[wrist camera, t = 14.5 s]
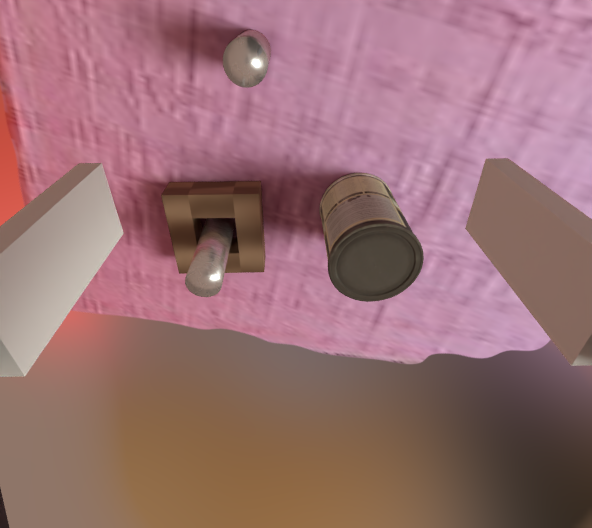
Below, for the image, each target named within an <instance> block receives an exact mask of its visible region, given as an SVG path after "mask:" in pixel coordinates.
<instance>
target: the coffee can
mask: <svg viewBox="0 0 592 528" xmlns="http://www.w3.org/2000/svg"><path fill="white" fill-rule="evenodd" d="M320 216H321V220H322V226H323V232H324V239H325V244H326V251H327V257H328V272H329V277H330V279H331V281H332V283H333V285H334V286H335V288H336V289H337V290H338V291H339V292H341V293H342V294H344V295H345V296H347V297H349V298H352V299H355V300H359V301H367V302H368V301H370V302H371V301H380V300H384V299H388V298H391V297H393V296H395V295H398V294H399V293H401V292H403V291H404V290H405V289H407V288H408V287H409V286H410V285H411V284H412V283H413V282H414V281H415V279H416V278H417V276H418V275H419V273H420V271H421V268H422V265H423V250H422V247H421V244H420V242H419V240H418V239H417V237H416V236H415V235H414V234H413V232H412V230H411V228H410V226H409V225H408V223H407V221H406V219H405V217H404V216H403V214H402V212H401V210H400V208H399V206H398V205H397V203H396V201H395V199H394V197H393V195H392V193H391V191H390V189H389V187H388V186H387V185H386V183H385V182H384V181H382V180H381V179H380V178H378V177H376V176H374V175H371V174H367V173H353V174H349V175H346V176H343V177H341V178H339V179H338V180H336V181H335V182H334V183H332V184H331V185H330V186H329V188H328V189H327V190H326V191H325V193H324V195H323V197H322V199H321V202H320Z"/></svg>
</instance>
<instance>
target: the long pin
mask: <svg viewBox="0 0 592 528" xmlns="http://www.w3.org/2000/svg"><path fill="white" fill-rule="evenodd" d="M234 228H235V218H207V219H206V222H205V225H204V227H203V230H202V233H201V236H200V239H199V242H198V244H197V247H196V250H195V253H194V256H193V258H192V261H191V264H190V267H189V270H188V273H187V275H186V278H185V284H186V287H187V288H188V290H189V291H190V292H192V293H193V294H195V295H197V296H201V297H210V296H214V295H216V294H217V293H218V292H219V291H220V289H221V287H222V282H223V278H224V273H225V269H226V264H227V259H228V255H229V250H230V246H231V241H232V237H233V232H234Z"/></svg>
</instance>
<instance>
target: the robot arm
mask: <svg viewBox="0 0 592 528" xmlns="http://www.w3.org/2000/svg"><path fill="white" fill-rule="evenodd" d="M465 229H466V230H467V231H468V232H469V234H470V235H471V236H472V238H473V239H474V240H475V242H476V243H477V244H478V245H479V247H480V248H481V249H482V251H483V252H484V253H485V254H486V256H487V257H488V258H489V260H490V261H491V262H492V264H493V265H494V266H495V267H496V269H497V270H498V271H499V273H500V274H501V275H502V276H503V278H504V279H505V280H506V282H507V283H508V284H509V286H510V287H511V288H512V289H513V291H514V292H515V293H516V295H517V296H518V297H519V298H520V300H521V301H522V302H523V304H524V305H525V306H526V307H527V309H528V310H529V311H530V313H531V314H532V315H533V317H534V318H535V319H536V320H537V322H538V323H539V324H540V326H541V327H542V328H543V329H544V331H545V332H546V333H547V335H548V336H549V337H550V339H551V340H552V341H553V342H554V344H555V345H556V346H557V348H558V349H559V350H560V351H561V353H562V354H563V355H564V357H565V358H566V359H567V360H568V362H569V363H570V364H571V366H579V365H592V219H590V218H589V217H588V216H586V215H585V214H584V213H582V212H581V211H579V210H578V209H577V208H575V207H574V206H573V205H571V204H570V203H568V202H567V201H566V200H564V199H563V198H562V197H560V196H559V195H557V194H556V193H555V192H553V191H552V190H551V189H549V188H548V187H547V186H545V185H544V184H542V183H541V182H540V181H538V180H537V179H536V178H534V177H533V176H531V175H530V174H529V173H527V172H526V171H525V170H523V169H522V168H520V167H519V166H518V165H516V164H515V163H514V162H512V161H511V160H509V159H508V158H504V159H486V160H485V164H484V167H483V170H482V174H481V177H480V181H479V184H478V187H477V191H476V194H475V198H474V201H473V204H472V208H471V211H470V215H469V218H468V221H467V225H466V228H465ZM122 235H123V230H122V227H121V224H120V220H119V217H118V214H117V211H116V208H115V204H114V201H113V198H112V195H111V192H110V188H109V185H108V182H107V179H106V176H105V172H104V169H103V166H102V163H79V164H78V165H76V166H75V167H74V168H73V169H71V170H70V171H69V172H68V173H66V174H65V175H64V176H63V177H61V178H60V179H59V180H58V181H56V182H55V183H54V184H53V185H51V186H50V187H49V188H48V189H46V190H45V191H44V192H43V193H41V194H40V195H39V196H38V197H36V198H35V199H34V200H33V201H31V202H30V203H29V204H28V205H26V206H25V207H24V208H23V209H21V210H20V211H19V212H18V213H16V214H15V215H14V216H13V217H11V218H10V219H9V220H8V221H6V222H5V223H4V224H3V225H1V226H0V377H7V376H8V377H12V376H25V375H26V374H27V372H28V371H29V370H30V368H31V367H32V365H33V364H34V362H35V361H36V359H37V358H38V357H39V355H40V353H41V352H42V351H43V349H44V348H45V346H46V345H47V343H48V342H49V341H50V339H51V338H52V336H53V335H54V333H55V331H56V330H57V329H58V328H59V326H60V325H61V323H62V322H63V320H64V319H65V317H66V316H67V315H68V313H69V312H70V310H71V309H72V307H73V306H74V304H75V303H76V301H77V300H78V299H79V297H80V296H81V294H82V293H83V291H84V290H85V288H86V287H87V286H88V284H89V283H90V281H91V280H92V278H93V277H94V275H95V274H96V273H97V271H98V270H99V268H100V267H101V265H102V264H103V262H104V261H105V259H106V258H107V257H108V255H109V254H110V252H111V251H112V249H113V248H114V246H115V245H116V244H117V242H118V241H119V239H120V238H121V236H122ZM0 528H9V524H8V520H7V515H6V511H5V507H4V502H3V498H2V493H1V489H0Z"/></svg>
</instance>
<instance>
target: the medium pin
mask: <svg viewBox="0 0 592 528" xmlns="http://www.w3.org/2000/svg"><path fill="white" fill-rule="evenodd" d="M270 57H271V47H270V44H269V42H268V40H267V38H266V37H265V36H264V35H263V34H262V33H260V32H258V31H256V30H247V31H245V32H243V33H241V34H240V35H239V36H238V37H236V38H235V39H234V40H233V41H231V42H230V43H229V44H228V46H227V47H226V49H225V51H224V54H223V67H224V70H225V73H226V74H227V76H228V78H229V79H230V80H231V81H232V82H233V83H235V84H236V85H238V86H241V87H253V86H255V85H257V84H259V83H260V82H261V81H262V80H263V78H264V77H265V75H266V72H267V68H268V64H269V61H270Z"/></svg>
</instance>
